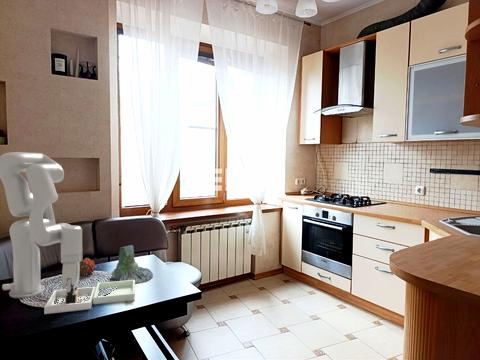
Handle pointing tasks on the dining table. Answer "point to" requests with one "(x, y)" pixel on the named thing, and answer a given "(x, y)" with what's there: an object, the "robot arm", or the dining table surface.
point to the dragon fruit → (86, 266)
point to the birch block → (75, 296)
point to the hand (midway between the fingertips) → (72, 301)
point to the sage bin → (116, 292)
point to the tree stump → (130, 267)
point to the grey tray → (55, 308)
